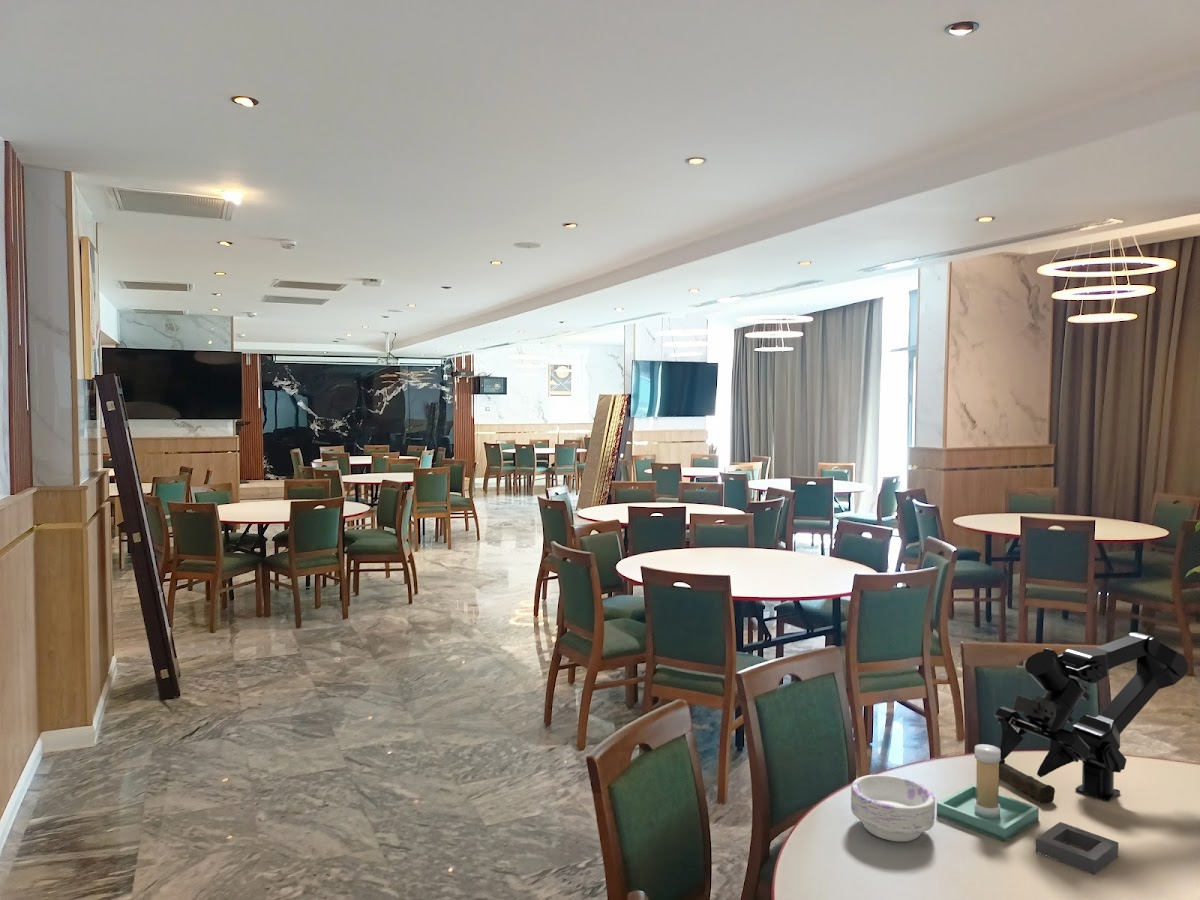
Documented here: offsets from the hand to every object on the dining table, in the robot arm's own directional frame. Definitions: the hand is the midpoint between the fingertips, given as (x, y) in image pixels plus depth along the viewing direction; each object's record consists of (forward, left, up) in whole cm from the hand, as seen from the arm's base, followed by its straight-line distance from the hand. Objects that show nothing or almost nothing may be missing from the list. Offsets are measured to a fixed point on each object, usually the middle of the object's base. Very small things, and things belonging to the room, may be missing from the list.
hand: (1019, 767), depth 168 cm
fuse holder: (+8, +14, -9) cm, 19 cm away
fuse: (+7, -3, -8) cm, 11 cm away
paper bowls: (+26, -12, -9) cm, 30 cm away
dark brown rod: (-11, -7, -10) cm, 16 cm away
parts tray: (+7, -3, -9) cm, 12 cm away
